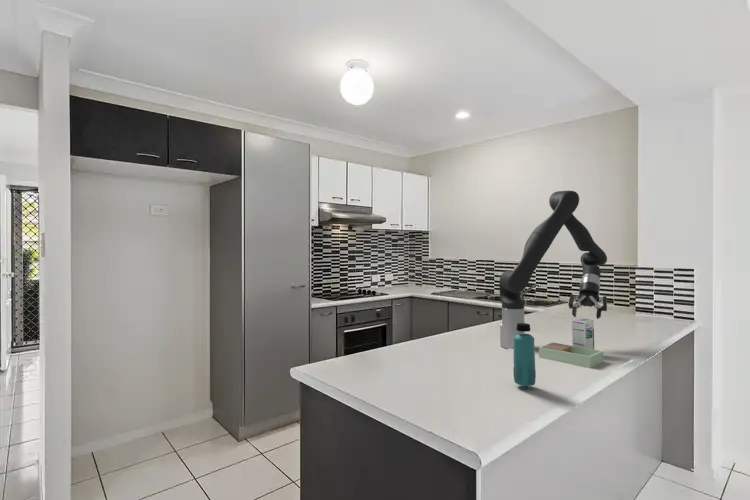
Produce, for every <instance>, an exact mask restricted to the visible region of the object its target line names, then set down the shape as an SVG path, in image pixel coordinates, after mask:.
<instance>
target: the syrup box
mask: <svg viewBox="0 0 750 500" xmlns="http://www.w3.org/2000/svg"><path fill="white" fill-rule="evenodd" d="M594 321H595V320H593V319H590V318H582V317H581V318H576V319H571V334H572V335H571V336H572V340H571V341H572V346H576V347H582V348H588V349H593V350H595V323H594Z"/></svg>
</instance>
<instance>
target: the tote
mask: <svg viewBox="0 0 750 500" xmlns="http://www.w3.org/2000/svg"><path fill="white" fill-rule="evenodd" d="M551 344H559V345H565V346H570V347H571V353H570V352H565V351H559V350H554V349H549V348H544V347H545V346H548V345H551ZM538 358H539V359H545V360H549V361H555V362H559V363H564V364H568V365H573V366H577V367H583V368H587V369H591V368H594V367H596V366H598V365H601V364H602V363H604V351H603V350H598V349H594V350H593V349H588V348H582V347H576V346H573V345H571V344H565V343H560V342H559V343H558V342H550V343H547V344H544V345H541V346H538Z"/></svg>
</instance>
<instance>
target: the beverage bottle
mask: <svg viewBox="0 0 750 500" xmlns="http://www.w3.org/2000/svg"><path fill="white" fill-rule="evenodd" d="M516 330H517V331H523V332H525V333H518V334H516V335H515V336H514V337H513V344H514V349H513V358H512V359H513V362H512V363H513V382H514V383H515V384H516V385H518V386H523V387H531V386H534V385H536V381H537V380H536V379H537V377H536V375H537V374H536V354H535V337H534V336H533V335H531V334H530V333H526V332H531V324H529V323H527V322H526V323H518V324H517V328H516Z"/></svg>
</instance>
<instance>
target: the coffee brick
mask: <svg viewBox="0 0 750 500" xmlns="http://www.w3.org/2000/svg"><path fill="white" fill-rule="evenodd" d="M559 344H560V343H559ZM559 344H551V345H548V346H545V347H544V348H549V349H554V350H559V351H565V352H570V353H571V347H570V346H565V345H566V344H565V345H559Z"/></svg>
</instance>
